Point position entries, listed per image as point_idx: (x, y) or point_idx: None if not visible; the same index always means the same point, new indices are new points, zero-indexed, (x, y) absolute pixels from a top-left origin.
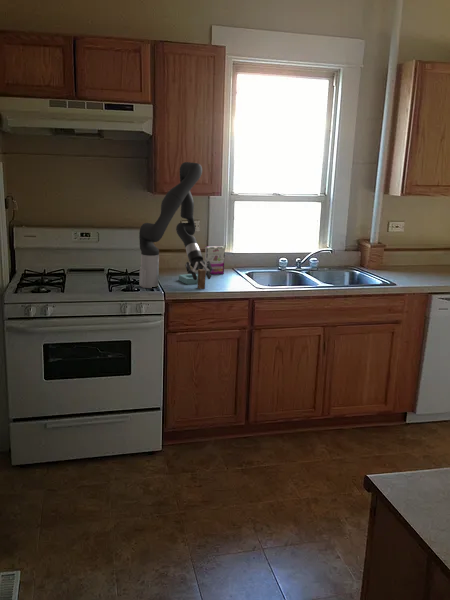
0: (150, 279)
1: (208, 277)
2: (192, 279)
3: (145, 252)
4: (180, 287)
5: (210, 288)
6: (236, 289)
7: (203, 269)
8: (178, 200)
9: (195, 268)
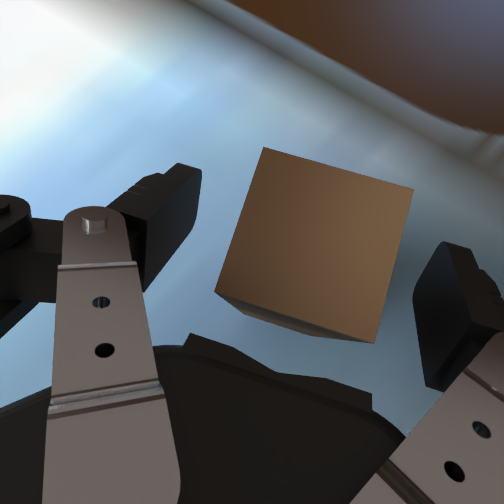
0: None
1: (191, 206)
2: None
3: None
4: None
5: (202, 219)
6: (12, 41)
7: (248, 244)
8: None
9: (475, 378)
